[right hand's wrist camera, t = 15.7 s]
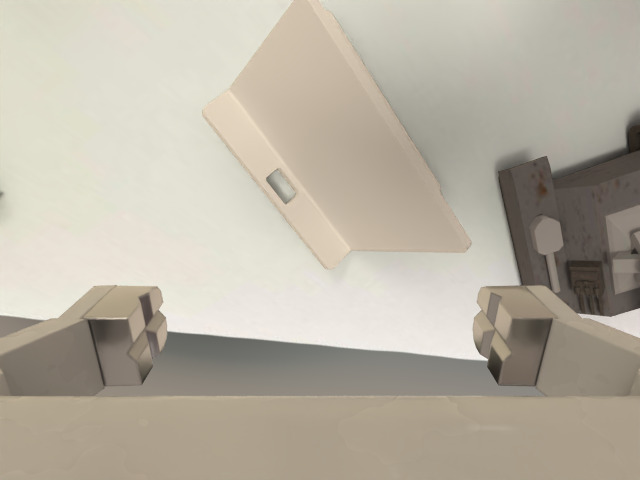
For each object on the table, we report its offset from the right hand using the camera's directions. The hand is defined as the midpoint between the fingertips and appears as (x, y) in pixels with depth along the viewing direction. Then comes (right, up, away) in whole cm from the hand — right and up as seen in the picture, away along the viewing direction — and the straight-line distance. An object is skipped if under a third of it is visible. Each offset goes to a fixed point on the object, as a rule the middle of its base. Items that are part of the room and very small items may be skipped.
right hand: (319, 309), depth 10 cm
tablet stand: (+1, +13, +39) cm, 41 cm away
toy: (+35, +4, +42) cm, 55 cm away
